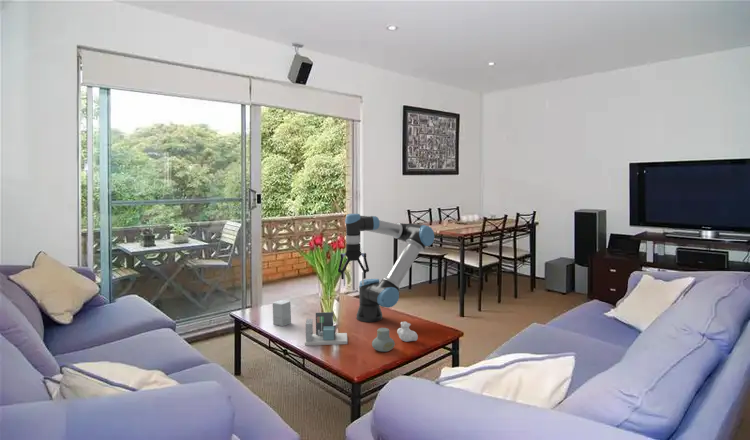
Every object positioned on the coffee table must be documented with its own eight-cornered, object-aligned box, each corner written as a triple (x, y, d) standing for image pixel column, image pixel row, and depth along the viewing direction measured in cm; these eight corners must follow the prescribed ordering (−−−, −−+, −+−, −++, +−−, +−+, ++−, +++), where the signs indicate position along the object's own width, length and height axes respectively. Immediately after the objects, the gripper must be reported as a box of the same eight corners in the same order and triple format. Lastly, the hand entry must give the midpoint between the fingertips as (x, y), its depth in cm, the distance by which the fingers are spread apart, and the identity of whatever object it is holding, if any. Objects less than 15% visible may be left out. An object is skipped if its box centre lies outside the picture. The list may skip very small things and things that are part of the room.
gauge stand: (346, 335, 240) (346, 311, 238) (347, 344, 228) (347, 318, 227) (306, 337, 238) (305, 312, 237) (304, 345, 226) (304, 319, 225)
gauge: (335, 333, 237) (335, 316, 236) (335, 339, 229) (335, 321, 228) (318, 334, 236) (318, 316, 236) (318, 340, 228) (317, 321, 227)
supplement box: (291, 323, 261) (291, 301, 259) (282, 326, 254) (281, 304, 253) (281, 320, 265) (281, 299, 263) (272, 324, 258) (272, 302, 257)
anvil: (312, 335, 235) (312, 318, 234) (312, 341, 227) (311, 323, 226) (306, 336, 235) (306, 319, 234) (305, 341, 227) (305, 324, 226)
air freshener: (386, 344, 227) (386, 325, 226) (397, 349, 220) (397, 329, 219) (369, 349, 220) (368, 329, 219) (379, 355, 214) (379, 334, 213)
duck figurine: (396, 342, 236) (388, 328, 230) (403, 330, 241) (395, 317, 234) (416, 347, 229) (408, 334, 223) (422, 335, 233) (415, 321, 227)
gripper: (373, 241, 246) (373, 282, 248) (332, 242, 244) (333, 283, 246) (374, 243, 239) (374, 286, 241) (332, 244, 237) (332, 287, 239)
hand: (353, 284), depth 244 cm, fingers open, 9 cm apart
